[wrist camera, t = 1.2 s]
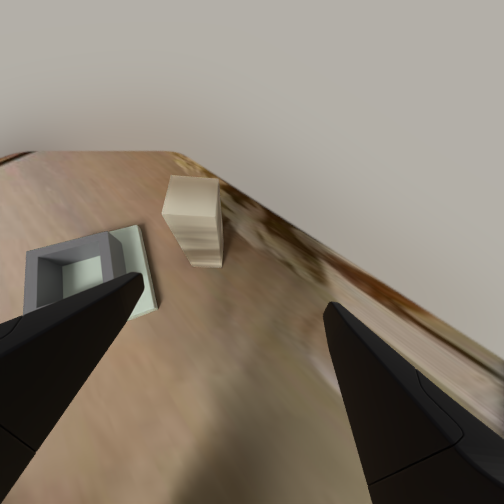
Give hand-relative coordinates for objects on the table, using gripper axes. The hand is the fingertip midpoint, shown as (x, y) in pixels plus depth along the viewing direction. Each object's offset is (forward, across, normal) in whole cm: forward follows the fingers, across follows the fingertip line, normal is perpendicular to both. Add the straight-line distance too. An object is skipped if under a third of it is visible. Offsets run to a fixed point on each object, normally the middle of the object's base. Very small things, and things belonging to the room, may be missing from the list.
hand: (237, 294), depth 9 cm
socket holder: (+10, +17, +11) cm, 23 cm away
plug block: (+15, +5, +8) cm, 18 cm away
